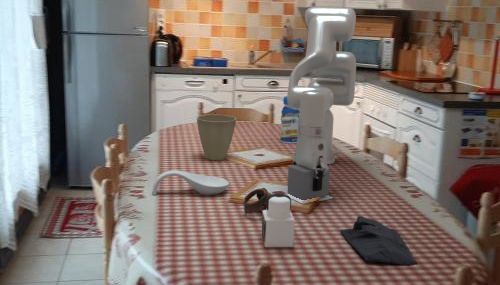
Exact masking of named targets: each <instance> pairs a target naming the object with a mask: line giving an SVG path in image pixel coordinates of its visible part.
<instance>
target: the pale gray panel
mask: <svg viewBox="0 0 500 285" xmlns="http://www.w3.org/2000/svg"><path fill="white" fill-rule="evenodd" d="M331 199H334V196H333V197H332V196H330V195H328V196H322V197H321V199H320V200H319V201H318V202H321V201H326V200H331Z"/></svg>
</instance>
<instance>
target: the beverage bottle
mask: <svg viewBox="0 0 500 285" xmlns="http://www.w3.org/2000/svg"><path fill="white" fill-rule="evenodd" d="M282 101H283V102H282V103H283V105H284V106H283V107H282V109H281V116H280V142H281V143H282V144H283V143H284V144H287V145H288V144H294V145H295V144H297V138H298V134H299V116H300V110H295V109H292V108H290V107H289V105H288V102H287V95H285V96H283V100H282Z"/></svg>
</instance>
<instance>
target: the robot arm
mask: <svg viewBox="0 0 500 285" xmlns="http://www.w3.org/2000/svg"><path fill="white" fill-rule="evenodd" d="M356 15H357V14H356V12H355V10H354V9H353V8H351V7H344V6H343V7H341V6H340V7H339V6H336V7H335V6H311V7H308V8H306V10H305V11H304V20H305V24H306V26H307V29H308V32H307V41H306V42H307V43H306V52H305V57H304V58H303V59H301V60H300V61H299V62H298V64H296V65H295V67H294V68H293V70H292V71H291V73H290V76H289V79H288V87H287V95H286V96H287V102H288V105H289V107H290V108H292V109H295V110H300V114H299V134H298V138H297V143H295V144H296V146H295V153H294V154H292V155H291V159H292V162H293V165H300V166H303V167H305V168H308V169H310V170H314V177H315V178H313V191H320V190H322V178H324V176H325V175H326V173H327V171H328V170H329V168H330V167H329V166H328V165H332V164H334V163H335V162H336V158H335V157H334V156H337V155H340V154H342V153H341V152H342V151H341V149H333V134H334V133H333V132H334V121H335V120H334V114H333V112H332V111H331V108H332V107H333V106H341V107H342V106H343V107H344V106H345V107H347V106H350V105H352V104H353V102H354V100H355V92H356V73H357V60H356V56H355V54H353V53H352V52H349V51H339V50H337V42H349V41H351V40H352V39H353V37H354V35H355V27H356V22H357V16H356ZM311 72H312V73H313V74H314V75H315V76H317V77H321V78H316V79H312V80H311V81H309V83H308V84H307V85H306V86H305V85H299V82H300V80H301V79H302V77H304V76H305V75H307V74H309V73H311ZM325 78H326V79H325ZM327 78H329V79H327ZM330 78H331V79H330ZM332 78H336V79H332ZM337 78H338V79H337ZM316 167H318V168H316ZM317 170H320V172H319V173H318V174H317Z"/></svg>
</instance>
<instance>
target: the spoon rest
mask: <svg viewBox="0 0 500 285" xmlns="http://www.w3.org/2000/svg"><path fill="white" fill-rule="evenodd" d="M172 176H173V177H174V176H176V177H178V178H181V179H182V180H184V182H186V183H188V184H189V185H190V186H191V187H192V189H194V190H195V191H196V192H198V194H200V195H205V196H206V195H207V196H213V195H217V194H220V193H223V192H224V191H225V190H226V189H227V188H228V187H229V185H230V182H229V181H228V180H227V179H225V178H222V177H218V176H214V175H213V176H211V175H204V174H198V173H192V172H188V171H184V170H183V171H182V170H177V169H172V170H167V171H165V172H162V173H160V174H159V175H158V176H157V177H156V178H155V180H154V182H153V186H152V195H153V196H156V195H157V193H158V187H159V185H160V182H162V181H163V180H164V179H165V178H168V177H172Z"/></svg>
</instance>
